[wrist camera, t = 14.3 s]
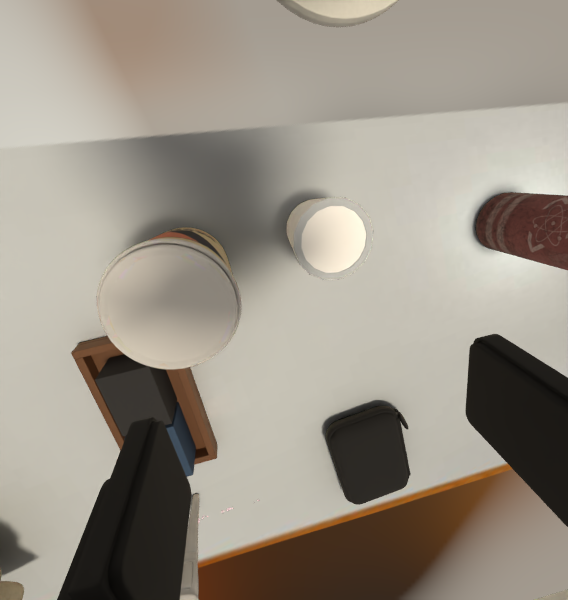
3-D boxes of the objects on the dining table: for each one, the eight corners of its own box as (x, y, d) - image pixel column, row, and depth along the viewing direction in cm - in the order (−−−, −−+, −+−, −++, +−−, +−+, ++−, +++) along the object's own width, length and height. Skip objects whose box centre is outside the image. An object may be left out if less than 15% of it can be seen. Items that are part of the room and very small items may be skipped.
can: (477, 258, 38) (607, 302, 25) (469, 205, 35) (610, 223, 22) (525, 237, 38) (680, 270, 25) (520, 183, 35) (691, 188, 22)
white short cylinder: (273, 255, 34) (285, 274, 27) (288, 185, 32) (304, 188, 25) (336, 266, 35) (360, 286, 29) (353, 200, 33) (384, 206, 27)
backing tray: (79, 342, 34) (70, 352, 32) (173, 320, 34) (170, 328, 32) (140, 466, 40) (135, 481, 38) (217, 445, 41) (217, 458, 39)
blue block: (134, 413, 37) (123, 439, 33) (178, 401, 37) (173, 426, 33) (154, 458, 39) (147, 487, 36) (196, 447, 40) (193, 475, 36)
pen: (186, 504, 44) (169, 642, 31) (185, 489, 43) (167, 625, 30) (205, 501, 44) (197, 637, 31) (205, 486, 43) (196, 620, 30)
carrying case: (411, 469, 48) (396, 392, 43) (423, 487, 46) (408, 407, 40) (343, 494, 48) (319, 419, 42) (351, 514, 45) (326, 437, 39)
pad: (108, 357, 34) (94, 379, 30) (157, 345, 34) (148, 366, 31) (132, 410, 37) (122, 436, 33) (177, 399, 37) (172, 423, 33)
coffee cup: (231, 214, 32) (234, 235, 21) (240, 304, 35) (247, 364, 24) (129, 221, 30) (73, 248, 19) (149, 314, 34) (111, 382, 23)
